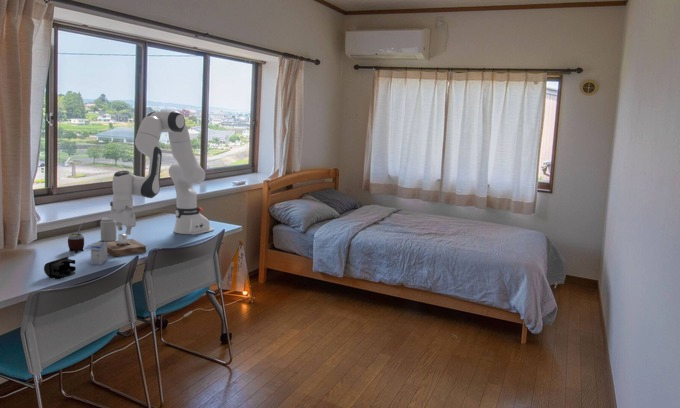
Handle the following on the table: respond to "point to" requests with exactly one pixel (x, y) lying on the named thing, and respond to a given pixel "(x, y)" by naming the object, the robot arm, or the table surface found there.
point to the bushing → (122, 239)
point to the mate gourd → (76, 241)
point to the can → (108, 229)
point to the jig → (125, 248)
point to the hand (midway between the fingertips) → (124, 232)
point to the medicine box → (98, 253)
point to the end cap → (60, 268)
